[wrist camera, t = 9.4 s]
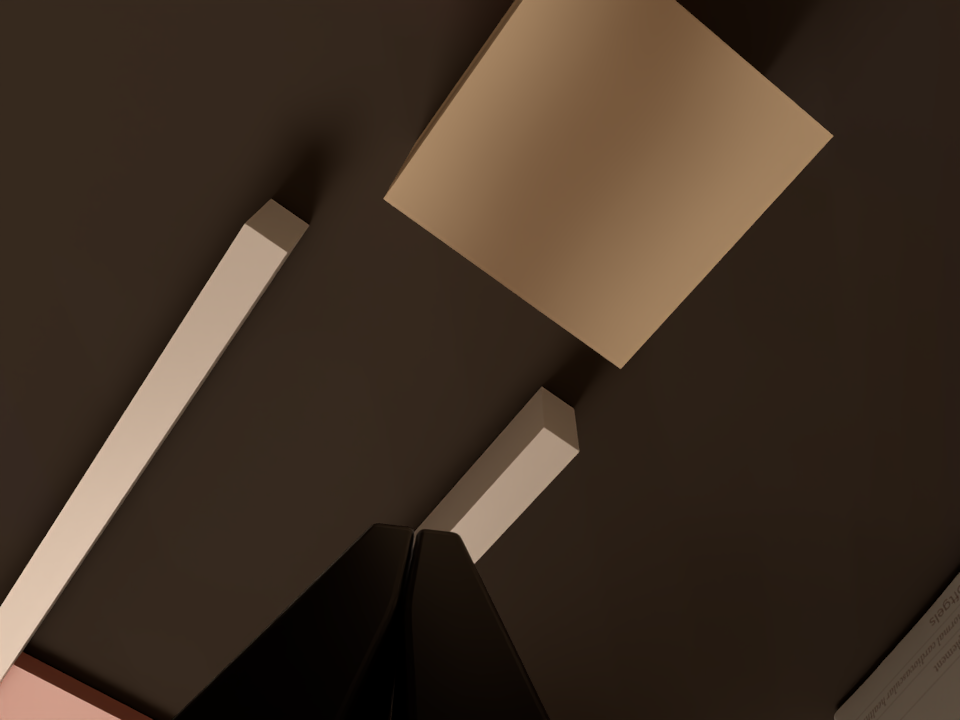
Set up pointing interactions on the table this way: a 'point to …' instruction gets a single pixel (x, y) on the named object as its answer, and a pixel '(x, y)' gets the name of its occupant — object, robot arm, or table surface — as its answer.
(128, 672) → the table surface
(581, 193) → the pine block
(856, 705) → the supplement box
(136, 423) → the channel
